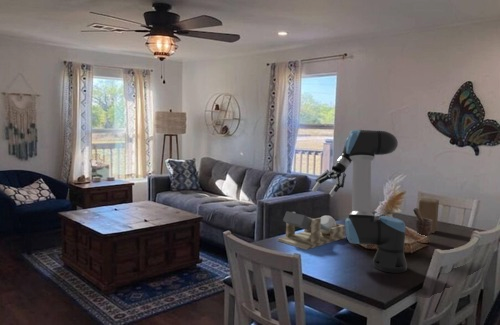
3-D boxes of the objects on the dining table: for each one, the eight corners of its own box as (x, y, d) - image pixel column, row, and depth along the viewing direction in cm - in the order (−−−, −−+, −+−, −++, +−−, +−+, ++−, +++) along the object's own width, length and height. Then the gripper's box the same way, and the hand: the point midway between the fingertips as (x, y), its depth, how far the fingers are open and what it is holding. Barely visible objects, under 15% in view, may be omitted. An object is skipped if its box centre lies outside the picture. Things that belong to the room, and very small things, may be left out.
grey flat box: (303, 225, 214) (307, 213, 215) (281, 220, 225) (285, 208, 227) (325, 240, 229) (329, 228, 230) (304, 234, 240) (308, 223, 242)
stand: (305, 249, 214) (307, 221, 212) (278, 240, 228) (278, 214, 227) (344, 238, 237) (345, 212, 236) (316, 230, 252) (317, 206, 250)
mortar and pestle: (423, 246, 225) (426, 210, 223) (409, 242, 232) (411, 207, 230) (433, 242, 233) (436, 208, 231) (418, 238, 239) (421, 205, 237)
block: (416, 231, 256) (418, 199, 254) (420, 228, 265) (422, 197, 263) (433, 234, 251) (436, 202, 249) (436, 230, 259) (439, 199, 257)
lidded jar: (312, 219, 239) (317, 228, 245) (320, 230, 231) (326, 239, 237) (327, 209, 239) (332, 218, 245) (336, 220, 231) (341, 229, 236)
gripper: (360, 172, 234) (341, 201, 227) (327, 167, 254) (309, 193, 246) (354, 163, 230) (335, 192, 223) (322, 159, 250) (303, 185, 243)
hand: (321, 193), depth 235 cm, fingers open, 13 cm apart
